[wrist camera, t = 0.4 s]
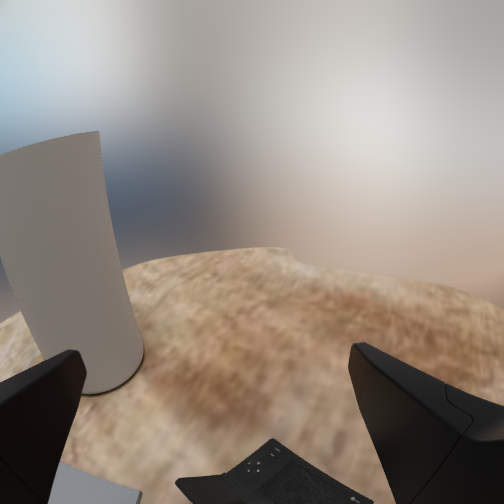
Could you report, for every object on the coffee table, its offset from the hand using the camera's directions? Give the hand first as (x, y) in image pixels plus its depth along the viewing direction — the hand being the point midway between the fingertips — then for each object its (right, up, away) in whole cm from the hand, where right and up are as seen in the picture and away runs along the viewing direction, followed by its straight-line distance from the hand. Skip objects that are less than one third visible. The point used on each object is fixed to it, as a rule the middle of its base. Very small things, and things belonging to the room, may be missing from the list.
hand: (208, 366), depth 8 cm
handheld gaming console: (+4, -16, +7) cm, 18 cm away
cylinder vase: (-17, -10, +22) cm, 30 cm away
